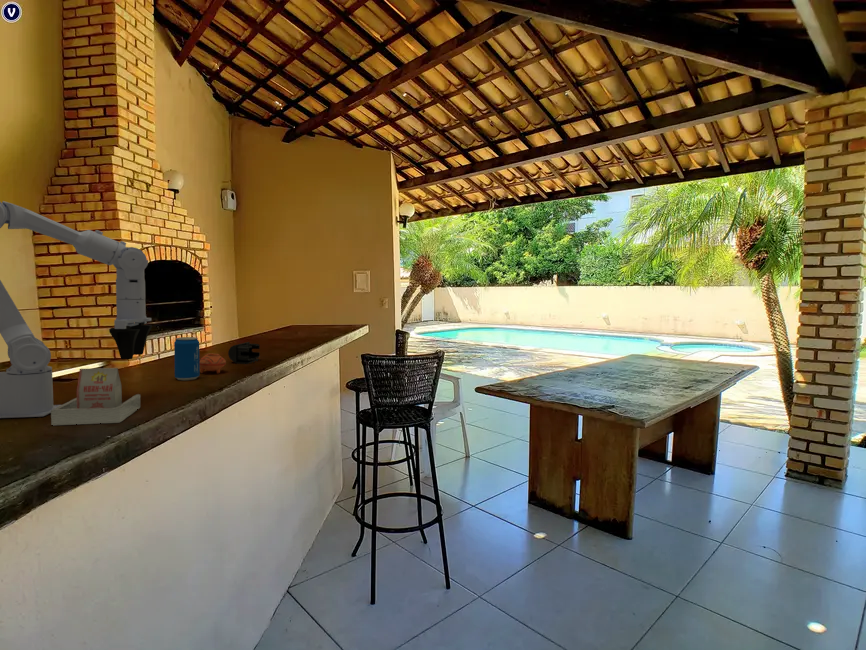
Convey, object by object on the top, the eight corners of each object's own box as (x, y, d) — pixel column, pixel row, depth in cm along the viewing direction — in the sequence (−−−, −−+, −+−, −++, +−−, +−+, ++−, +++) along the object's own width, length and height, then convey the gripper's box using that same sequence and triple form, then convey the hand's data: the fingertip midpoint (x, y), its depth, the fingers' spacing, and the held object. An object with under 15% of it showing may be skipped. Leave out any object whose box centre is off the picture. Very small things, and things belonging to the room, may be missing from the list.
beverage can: (189, 381, 132) (188, 339, 131) (169, 380, 133) (168, 338, 132) (204, 377, 138) (204, 337, 137) (185, 376, 139) (185, 336, 138)
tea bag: (85, 413, 98) (84, 367, 97) (122, 412, 100) (121, 366, 99) (77, 418, 94) (75, 370, 93) (115, 417, 96) (114, 369, 95)
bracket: (51, 425, 89) (50, 410, 89) (80, 409, 101) (79, 396, 100) (119, 422, 92) (119, 407, 92) (140, 407, 104) (140, 394, 103)
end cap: (241, 359, 173) (241, 341, 172) (260, 360, 172) (260, 342, 172) (227, 363, 163) (227, 344, 162) (247, 364, 162) (247, 345, 162)
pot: (202, 369, 149) (207, 349, 149) (226, 375, 150) (231, 355, 149) (190, 373, 141) (196, 351, 141) (216, 379, 142) (221, 358, 141)
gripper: (139, 300, 102) (140, 361, 103) (159, 298, 116) (160, 352, 117) (102, 299, 100) (104, 361, 101) (127, 297, 114) (129, 352, 115)
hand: (132, 356), depth 109 cm, fingers open, 6 cm apart
